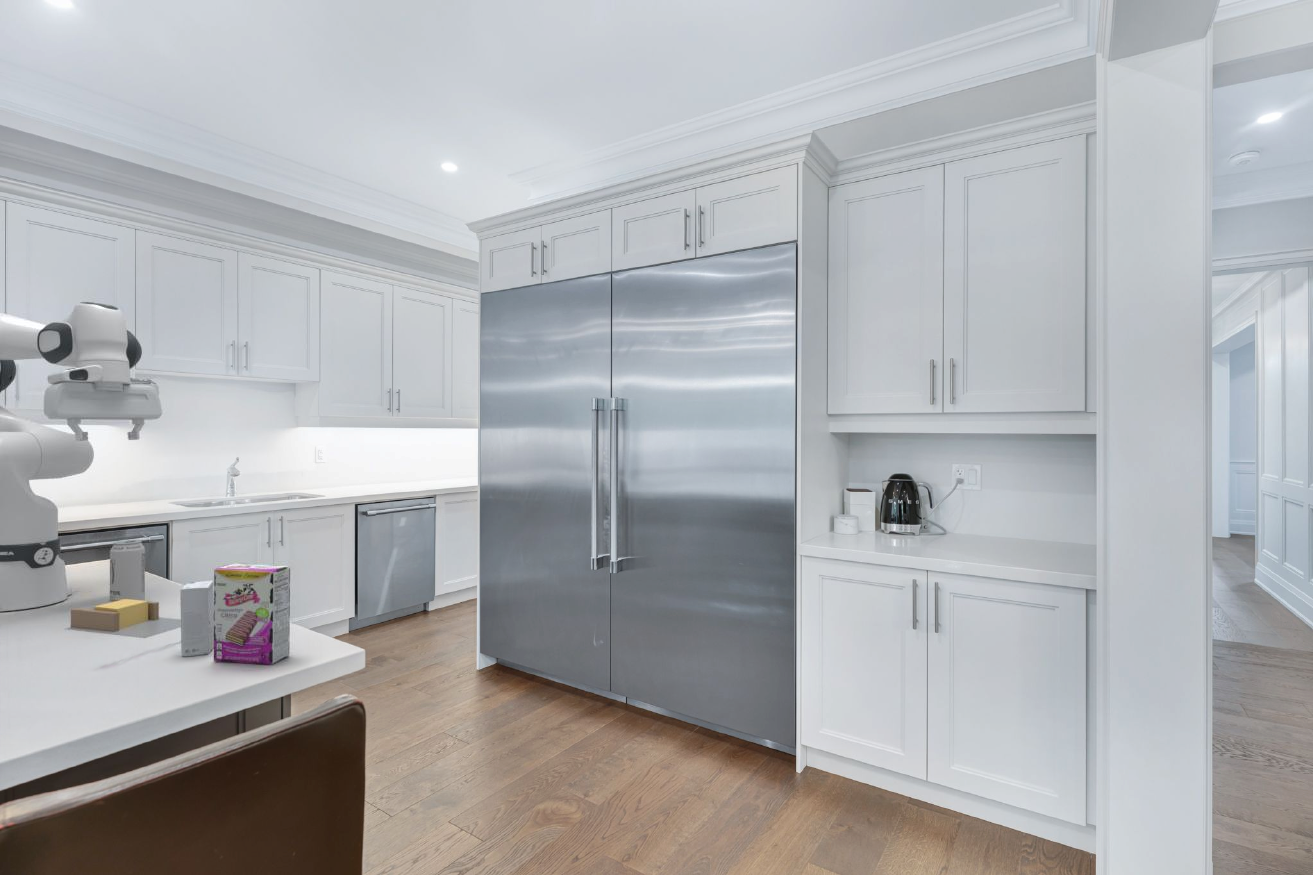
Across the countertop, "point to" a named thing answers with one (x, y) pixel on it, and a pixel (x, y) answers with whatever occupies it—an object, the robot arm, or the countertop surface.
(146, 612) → the ochre block
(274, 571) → the candy bar box
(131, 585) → the energy drink can
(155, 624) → the chute
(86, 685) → the countertop surface
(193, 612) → the skincare box
